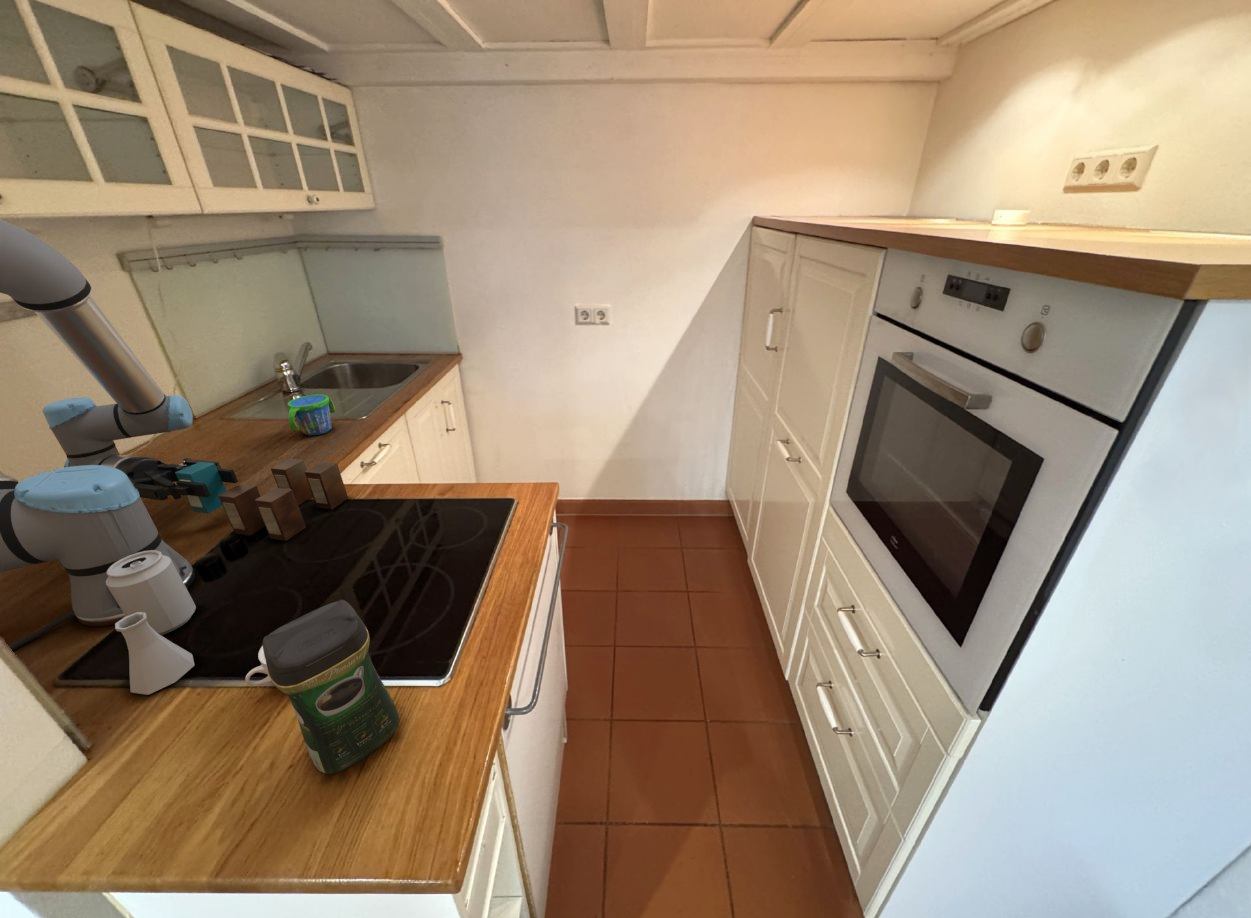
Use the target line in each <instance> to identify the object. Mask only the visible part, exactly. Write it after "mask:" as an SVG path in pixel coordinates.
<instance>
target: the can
mask: <svg viewBox="0 0 1251 918" xmlns="http://www.w3.org/2000/svg"><path fill="white" fill-rule="evenodd" d="M107 575H108V578H107V580H106V585H107V587H108V588H109V590H110V592H111V593H112V595H113V596H114V598H115V600H116V601H117V603H118V604H119V606H120V608H121V609H122V611H123V613H124V614H125V616H129V615H131V614H134V613H136V612H142V613H146V616H147V622H148V624H149V625H150V626H151V627H152V628H153V629H154V630H155V631H156V632H157V633H158V634H159V635H161V636H163V635H166V634H168V633H171V632H174V631H175V630H177V629H179V628H180V627H182V626H184V625H185V624H186V623H187V622H189V620H190V619H191V618H192V616H193V614H194V613H195V611H196V609H197V606H196V604H195V601H194V599H193V598H192V596H191V594H190V592H189V590H188V589H187V588H186V587H185V585H184V583H183V581H182V579H181V577H180V575H179V573H178V572H177V570H176V568H175V566H174V564H173V562H172V560H171V558H170V557H167V556H164V555H162V553H161V552H159V551H155V550H150V551H143V552H139V553H135V554H132V555H129V556H127V557H125V558H123V559H121V560H119V561H117V562H115V563H114V564H113V565H112V566H110V567H109V569H108V570H107Z"/></svg>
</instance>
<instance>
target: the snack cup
mask: <svg viewBox="0 0 1251 918" xmlns="http://www.w3.org/2000/svg"><path fill="white" fill-rule="evenodd" d="M287 408H288V409H289V410H288V417H287V418H288V426H289V428H290V430H292V431H294V432H298V431H300V430H301V431H302V433H303V434H304V435H306V436H307V437H311V436H320V435H325V434H327V433H328V432H330V431H331V430H332V428H333V427H332V419H331V418H332V417H331V414H335V412H336V407H335V404H334V403H333V401H332V399H331V398H330V396H328V395H326V394H309V395H303V396H299V397H296V398H294V399H292V400H289V401H288V402H287ZM295 420H296V421H295ZM296 422H297V423H296ZM297 424H298V425H297ZM299 427H300V428H299Z"/></svg>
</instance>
